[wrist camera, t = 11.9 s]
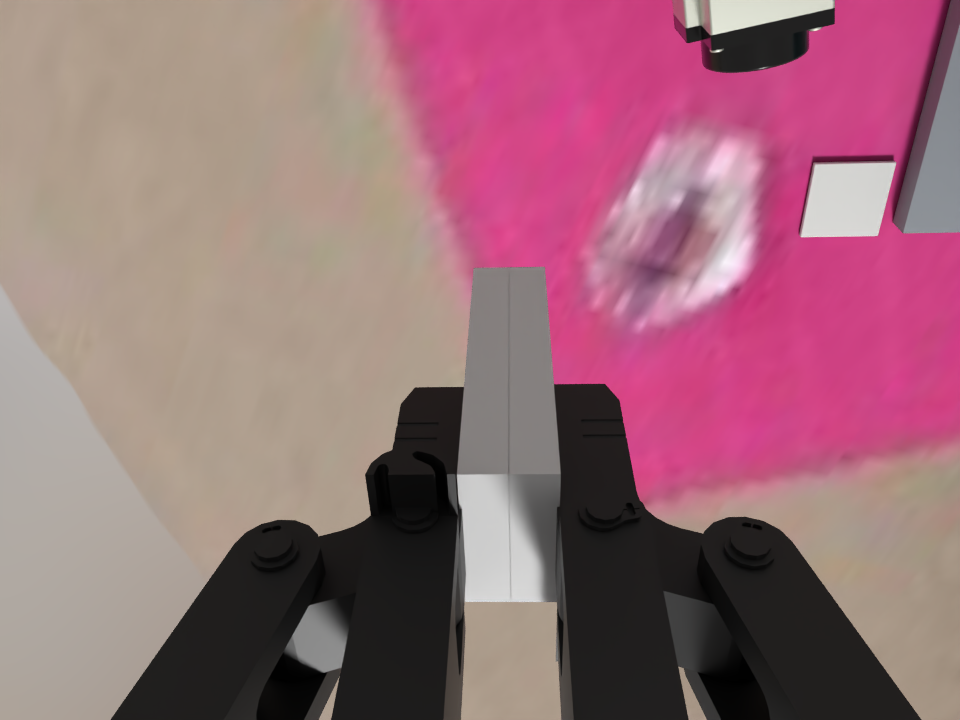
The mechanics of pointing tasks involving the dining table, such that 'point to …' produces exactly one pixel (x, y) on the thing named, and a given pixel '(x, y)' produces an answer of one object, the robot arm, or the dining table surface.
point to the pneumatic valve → (750, 30)
